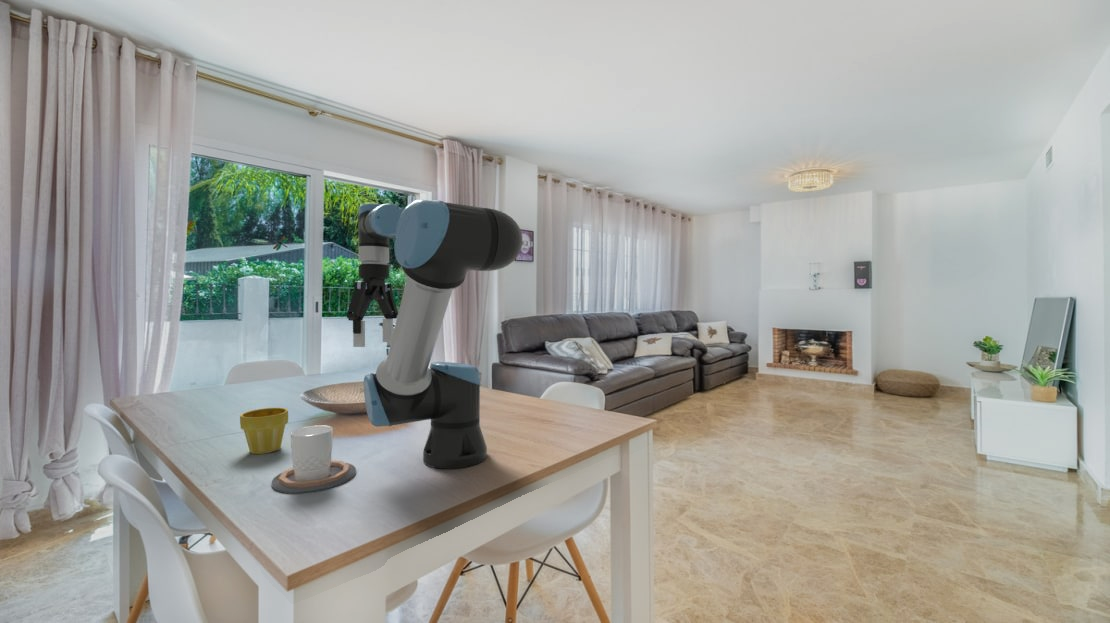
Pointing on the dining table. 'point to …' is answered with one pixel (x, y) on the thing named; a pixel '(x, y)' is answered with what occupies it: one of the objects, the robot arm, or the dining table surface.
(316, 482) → the trivet
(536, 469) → the dining table surface
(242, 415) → the plant pot
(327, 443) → the white cup
